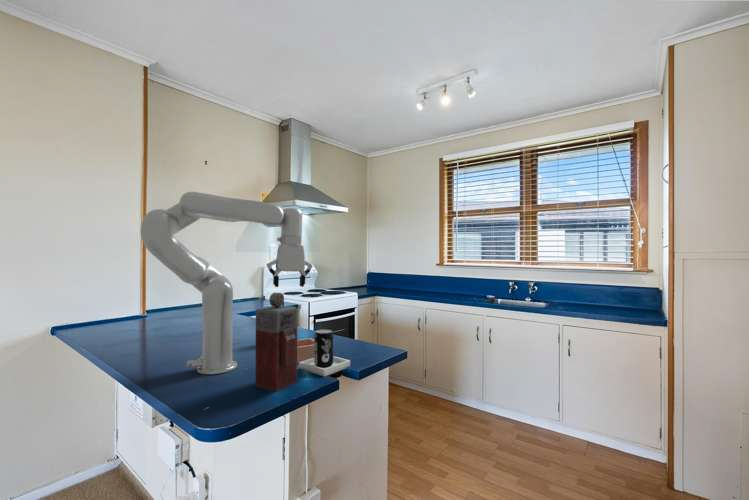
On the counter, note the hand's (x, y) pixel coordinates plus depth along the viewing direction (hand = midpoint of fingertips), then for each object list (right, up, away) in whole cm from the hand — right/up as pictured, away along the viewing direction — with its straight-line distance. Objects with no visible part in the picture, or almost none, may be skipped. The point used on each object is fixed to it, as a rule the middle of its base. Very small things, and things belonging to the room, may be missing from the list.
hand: (289, 286), depth 129 cm
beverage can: (+14, -27, -9) cm, 32 cm away
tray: (+15, -28, -9) cm, 32 cm away
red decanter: (+3, -28, -24) cm, 37 cm away
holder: (+4, -28, +3) cm, 28 cm away
